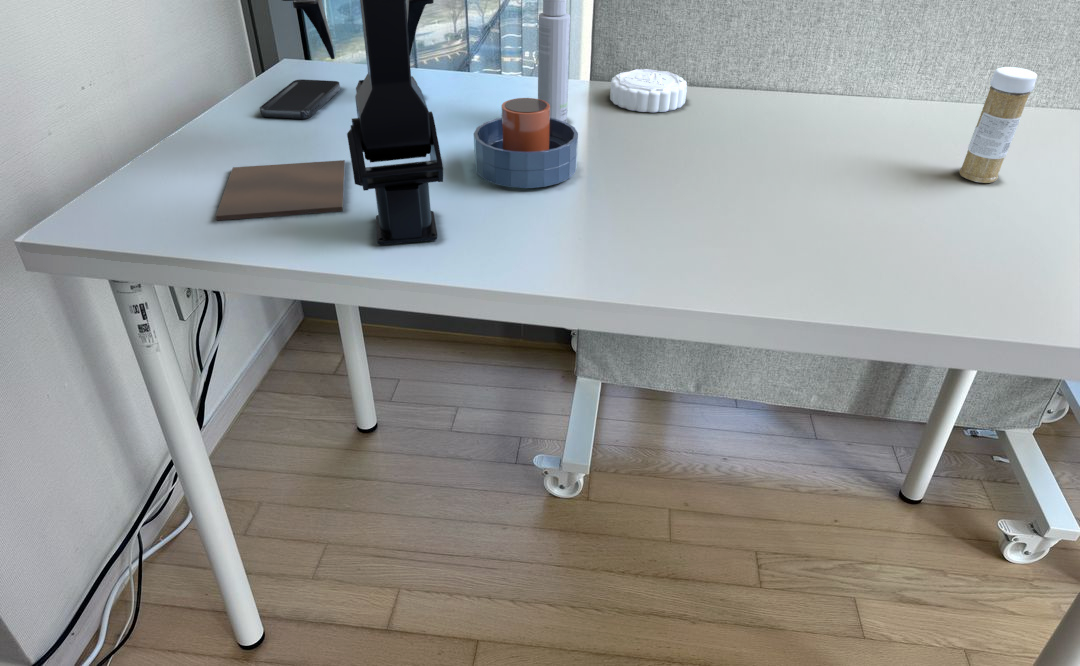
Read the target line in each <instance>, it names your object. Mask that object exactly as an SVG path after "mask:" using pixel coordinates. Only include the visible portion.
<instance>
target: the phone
mask: <svg viewBox="0 0 1080 666" xmlns="http://www.w3.org/2000/svg"><path fill="white" fill-rule="evenodd" d="M340 84H341V83H340V82H339V81H337V80H321V79H300V78H299V79H295V80H293V81H291V82H290V83H289V84H288V85H285V87H283V88H282V89H281V90H280V91H278V93H276V94H275V95H274V96H272V97H271V98H269V100H267V101H266V102H264V103H263V104H262V105H261V106H259V111H260V116H261V117H263V118H277V119H292V120H293V119H294V120H295V119H296V120H306V119H310V118H312V116H314V114H316V113H317V112H318V111H319V110H320V109H321V108H323V106H324V105H326V104H327V103H328V102H329V101H330V100H331V99H332V98H333V97H334V96H335V95H336V94H337V93H339V92H340V91H341V85H340Z"/></svg>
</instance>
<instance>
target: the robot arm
mask: <svg viewBox="0 0 1080 666" xmlns="http://www.w3.org/2000/svg"><path fill="white" fill-rule="evenodd" d="M282 1H283V2H291V1H292V7H293V8H294V9H301V10H302V11H303V12H304V14H305V16H306V17H307V18H308V19H309V21H310V23H311V24H312V25H313V27H314V28H315V31H316V33H317V34H318V36H319V38H320V40H321V42H322V43H323V45H324V46H323V47H324V48H325V50H326V51H327V54H328V55H329V57H330V59H331V60H335V55H336V54H335V48H334V43H333V39H332V34H331V31H330V28H329V24H328V20H327V16H326V13H325V8H324V3H323V0H282ZM359 3H360V4H359V5H360V12H361V13H360V14H361V23H362V32H363V40H364V50H365V58H366V67H367V69H366V70H367V74H366V75H365V77H364V79H359V80H358V82H357V85H356V87H355V92H356V93H355V98H354V99H355V106H356V107H355V108H356V115H357V117H353V118H352V117H351V125H350V129H349V130H348V132H347V133H346V138H347V143H348V148H349V155H350V161H351V167H352V175H353V181H354V185H357V186H359V187H362V191H369V190H374V193H375V201H376V208H377V209H376V210H377V214H376V215H375V233H376V234H375V235H376V236H375V237H376V244H377V245H380V246H383V245H384V246H385V245H394V244H395V245H396V244H405V243H407V244H408V243H419V242H430V241H437V240H438V239H439V238H438V237H439V236H438V230H437V225H436V224H437V223H436V218H435V213H434V211H433V210H432V209H431V197H430V196H431V195H430V186H429V185H430V184H429V183H444V165H443V160H442V154H441V149H440V144H439V138H438V133H437V132H438V131H437V127H436V122H435V117H434V114H433V112H432V111H430V110H429V108H428V105H427V102H426V99H425V97H424V94H423V91H422V89H421V88H420V85H418V82H417V81H416V79H415V78H414V76H412V71H411V54H412V50H413V45H414V41H415V38H416V32H417V28H418V25H419V23H420V20H421V18H422V15H423V12H424V10H425V7H426V5H432V4H434V0H359ZM427 155H429V159H430V160H423V161H416V162H405V163H393V164H387V165H386V164H385V165H375V166H367V167H366V163H365V160H366V161H369V163H370V164H371V163H380V162H389V161H390V162H391V161H399V160H409V159H419V158H426V157H427Z"/></svg>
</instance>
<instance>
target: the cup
mask: <svg viewBox="0 0 1080 666" xmlns="http://www.w3.org/2000/svg"><path fill="white" fill-rule="evenodd" d="M501 118H502V149H504V150H509V151H522V152H531V151H544V150H549V149H550V104H549V103H548V102H546V101H543V100H540V99H538V98H534V97H518V98H512V99H508V100H506V101H504V102H502V104H501Z"/></svg>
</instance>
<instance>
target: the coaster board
mask: <svg viewBox="0 0 1080 666" xmlns="http://www.w3.org/2000/svg"><path fill="white" fill-rule="evenodd" d="M345 177H346V160H345V159H341V160H327V161H325V160H324V161H310V162H297V163H296V162H295V163H293V162H292V163H281V164H265V165H264V164H262V165H249V166H235V167H234V166H233V167H232V169H231V171H230V175H229V177H228V180H227V183H226V186H225V188H224V190H223V194H222V197H221V200H220V202H219V206H218V207H217V212H216V215H215V219H216V221H228V220H229V221H231V220H243V219H244V220H245V219H256V218H269V217H283V216H284V217H285V216H296V215H297V216H298V215H307V214H308V215H310V214H325V213H336V212H337V213H338V212H344V203H345V202H344V201H345V200H344V199H345V182H346V181H345V180H346V179H345Z"/></svg>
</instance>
